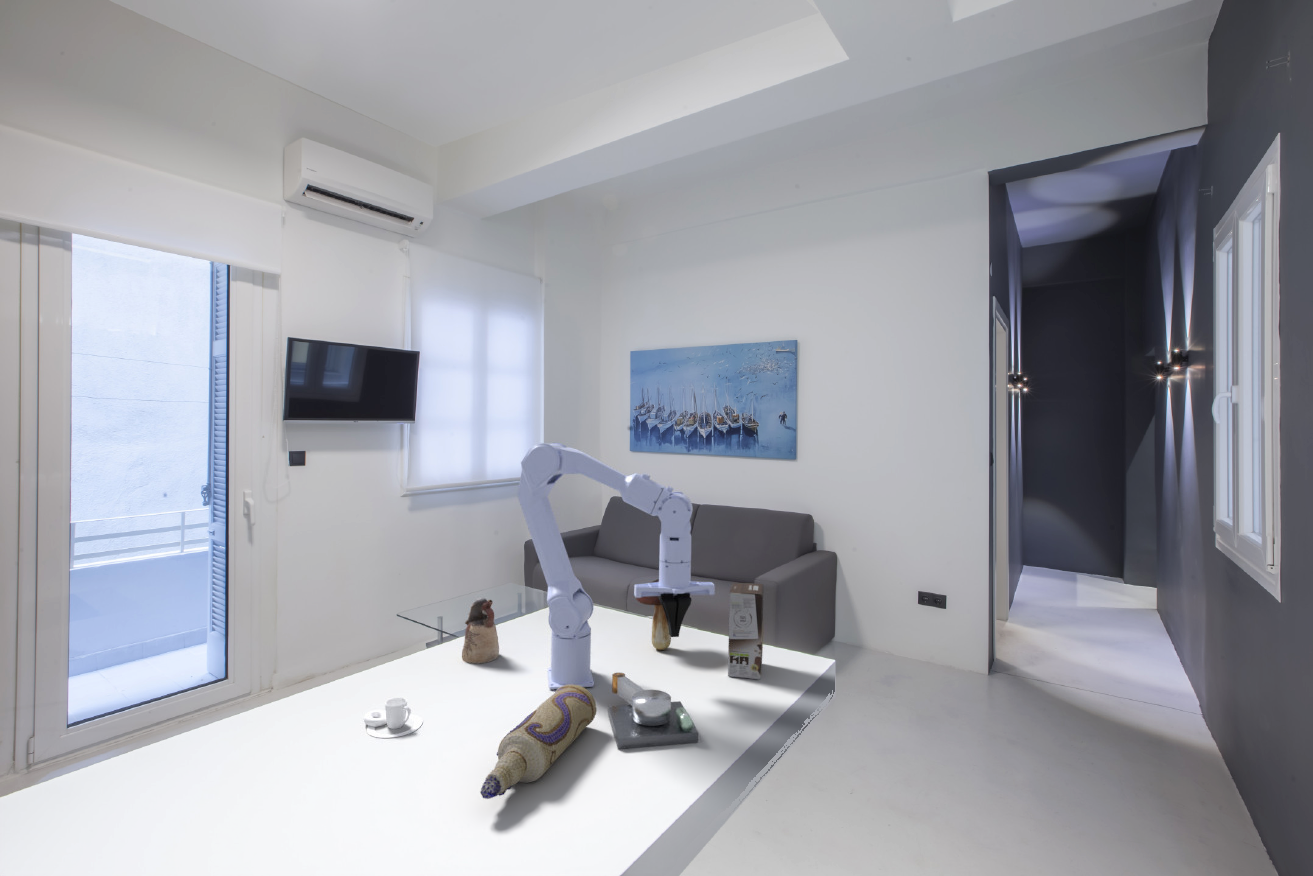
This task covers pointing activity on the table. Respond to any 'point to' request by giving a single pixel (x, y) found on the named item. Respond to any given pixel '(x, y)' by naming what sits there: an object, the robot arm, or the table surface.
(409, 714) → the teacup and saucer
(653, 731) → the plate
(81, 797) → the table surface
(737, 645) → the coffee box
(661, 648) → the decorative mushroom
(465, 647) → the figurine
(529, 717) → the decorative bottle
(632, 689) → the silver pan
